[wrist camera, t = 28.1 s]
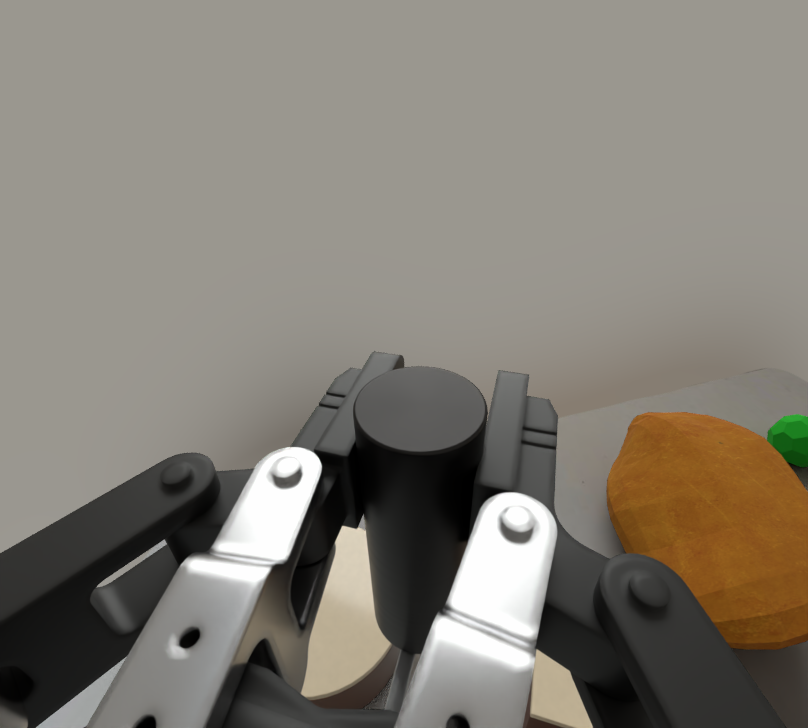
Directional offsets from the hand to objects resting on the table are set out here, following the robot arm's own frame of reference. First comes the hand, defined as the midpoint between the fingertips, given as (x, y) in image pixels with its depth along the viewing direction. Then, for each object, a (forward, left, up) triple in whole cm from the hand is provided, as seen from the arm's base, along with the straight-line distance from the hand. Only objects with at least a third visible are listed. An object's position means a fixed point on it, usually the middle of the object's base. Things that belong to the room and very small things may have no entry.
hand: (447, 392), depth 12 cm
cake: (-9, +5, -29) cm, 31 cm away
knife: (0, -3, -14) cm, 14 cm away
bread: (+17, +19, -29) cm, 39 cm away
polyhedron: (+29, +33, -29) cm, 52 cm away
